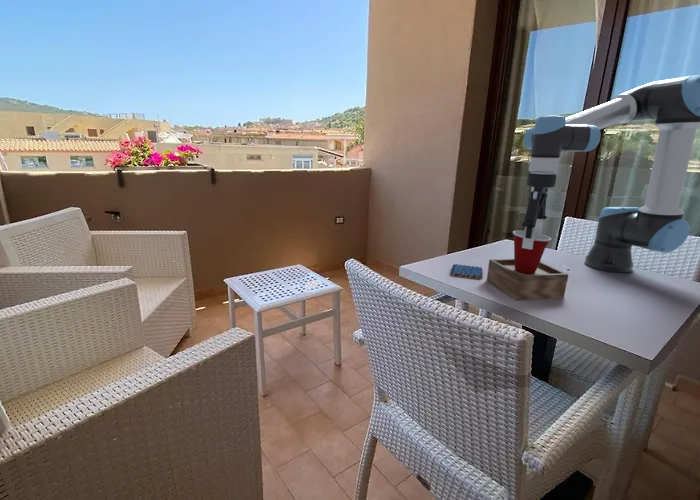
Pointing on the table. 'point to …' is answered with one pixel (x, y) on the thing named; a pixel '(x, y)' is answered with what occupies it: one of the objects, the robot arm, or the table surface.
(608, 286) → the table surface
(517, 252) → the plastic cup
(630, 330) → the table surface
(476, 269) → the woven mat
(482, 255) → the table surface
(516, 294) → the open wooden box
